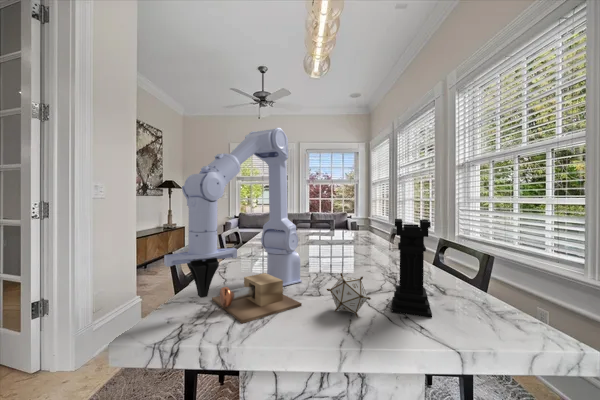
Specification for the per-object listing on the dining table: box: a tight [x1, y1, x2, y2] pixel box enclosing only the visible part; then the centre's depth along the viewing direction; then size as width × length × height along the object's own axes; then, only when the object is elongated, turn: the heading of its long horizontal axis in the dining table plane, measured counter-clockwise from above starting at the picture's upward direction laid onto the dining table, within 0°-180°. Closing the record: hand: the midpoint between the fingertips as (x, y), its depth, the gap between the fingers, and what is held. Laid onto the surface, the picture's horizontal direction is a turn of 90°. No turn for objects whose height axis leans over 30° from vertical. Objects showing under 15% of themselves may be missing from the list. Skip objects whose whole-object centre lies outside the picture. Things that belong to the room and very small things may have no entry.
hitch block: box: [211, 272, 303, 324], centre depth 67 cm, size 15×16×5 cm
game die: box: [326, 272, 372, 318], centre depth 62 cm, size 9×8×10 cm
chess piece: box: [391, 218, 433, 319], centre depth 64 cm, size 8×8×20 cm
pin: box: [219, 285, 255, 307], centre depth 65 cm, size 10×4×4 cm, turn 128°
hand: (202, 295), depth 59 cm, fingers closed
